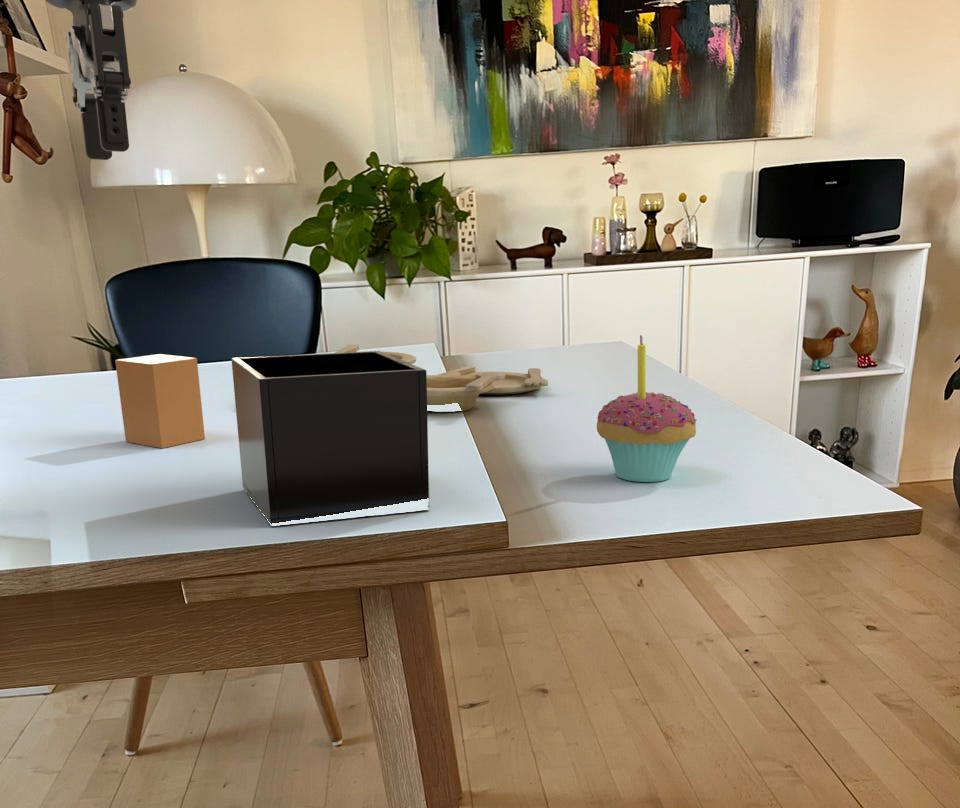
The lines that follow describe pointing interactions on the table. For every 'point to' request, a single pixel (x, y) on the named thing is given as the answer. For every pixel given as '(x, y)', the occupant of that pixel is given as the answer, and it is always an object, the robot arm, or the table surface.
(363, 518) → the table surface
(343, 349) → the tableware set
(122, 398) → the tan cardboard block
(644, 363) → the cupcake
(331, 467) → the trash can
